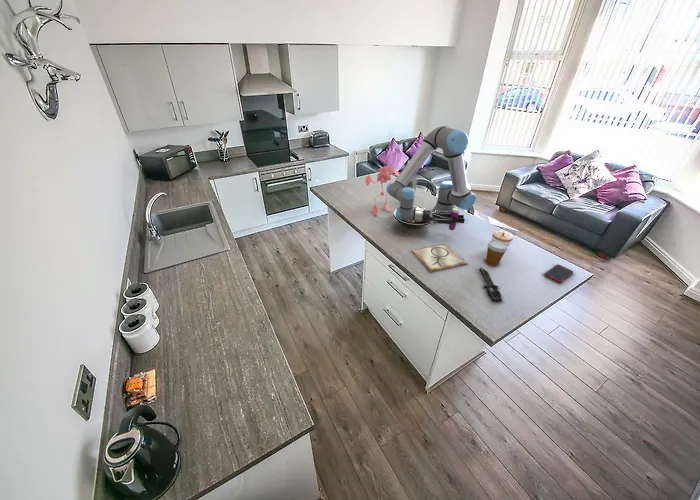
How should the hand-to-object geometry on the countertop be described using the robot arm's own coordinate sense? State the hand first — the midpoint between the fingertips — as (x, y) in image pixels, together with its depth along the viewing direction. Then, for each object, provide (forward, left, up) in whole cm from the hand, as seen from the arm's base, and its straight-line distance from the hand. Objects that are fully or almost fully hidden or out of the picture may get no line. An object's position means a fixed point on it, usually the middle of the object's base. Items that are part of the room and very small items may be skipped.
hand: (463, 219), depth 166 cm
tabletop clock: (+3, -67, -15) cm, 69 cm away
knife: (+9, +38, -15) cm, 42 cm away
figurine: (+29, -47, -15) cm, 58 cm away
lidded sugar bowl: (-20, +12, -15) cm, 28 cm away
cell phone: (-30, +43, -15) cm, 54 cm away
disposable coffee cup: (-5, +24, -15) cm, 29 cm away
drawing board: (+20, +11, -15) cm, 28 cm away
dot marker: (+5, -3, -7) cm, 9 cm away
